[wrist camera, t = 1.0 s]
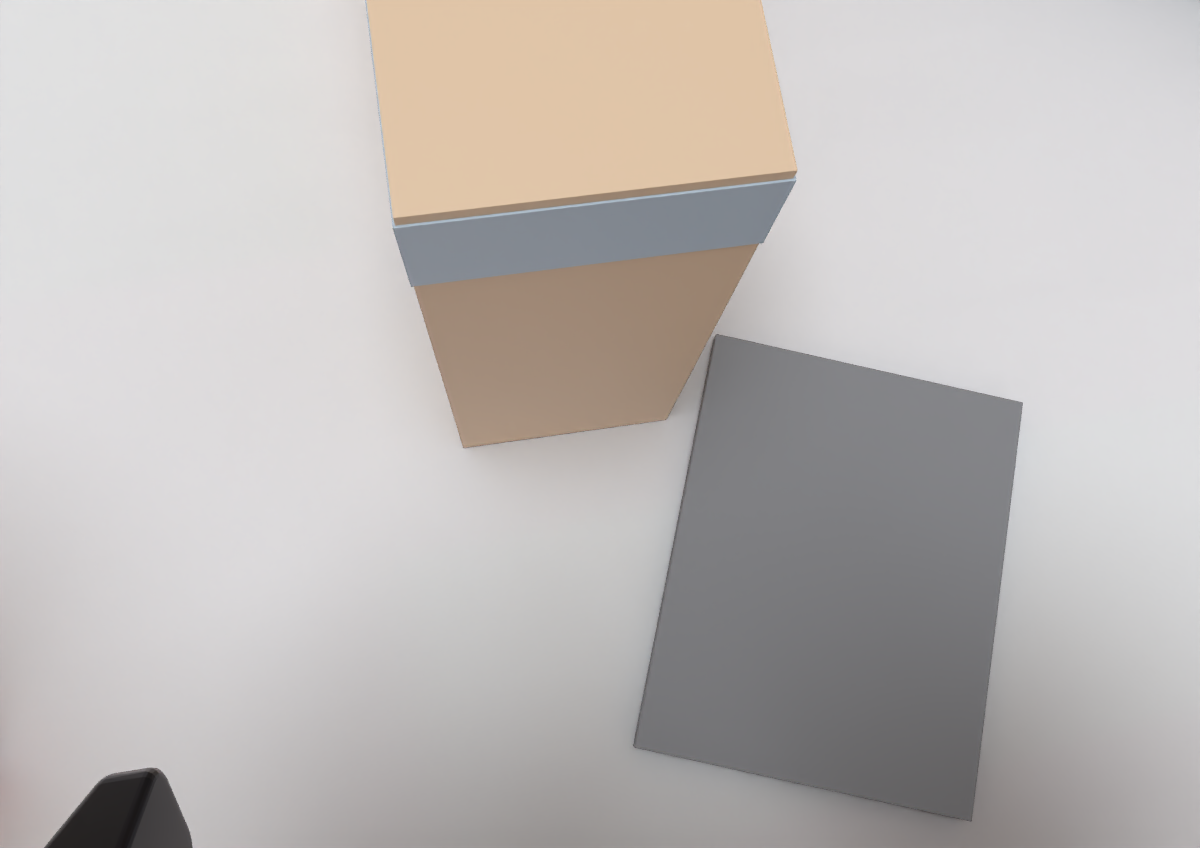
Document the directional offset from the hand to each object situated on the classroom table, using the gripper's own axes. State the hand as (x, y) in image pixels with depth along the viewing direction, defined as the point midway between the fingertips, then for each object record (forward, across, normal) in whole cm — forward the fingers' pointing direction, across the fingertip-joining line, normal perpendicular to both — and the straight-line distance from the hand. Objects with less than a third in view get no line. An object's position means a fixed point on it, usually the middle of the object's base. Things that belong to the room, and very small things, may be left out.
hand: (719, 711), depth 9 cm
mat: (+11, -5, +8) cm, 15 cm away
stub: (+15, 0, +4) cm, 16 cm away
